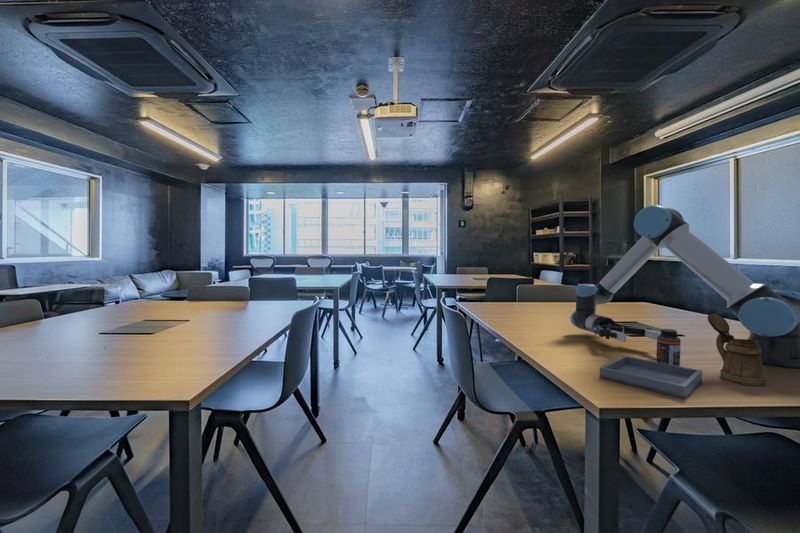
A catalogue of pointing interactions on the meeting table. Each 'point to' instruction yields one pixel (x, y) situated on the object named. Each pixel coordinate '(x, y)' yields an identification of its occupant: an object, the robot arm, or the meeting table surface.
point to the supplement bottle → (668, 347)
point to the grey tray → (652, 376)
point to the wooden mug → (737, 355)
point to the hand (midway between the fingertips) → (643, 337)
